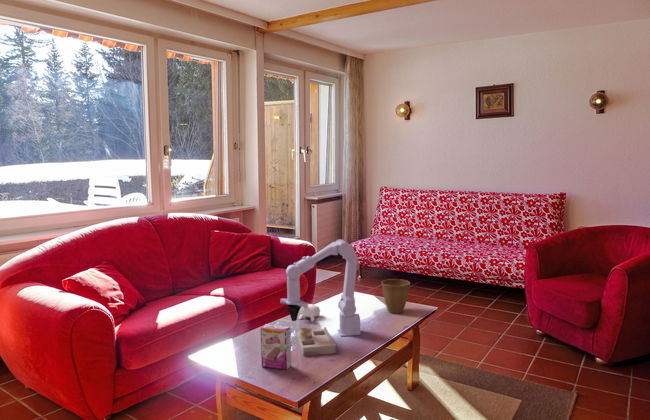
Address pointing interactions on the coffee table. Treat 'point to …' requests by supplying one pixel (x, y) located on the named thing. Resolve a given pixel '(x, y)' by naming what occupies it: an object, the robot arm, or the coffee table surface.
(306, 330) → the beige rounded knob
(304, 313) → the white animal figurine
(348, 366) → the coffee table surface
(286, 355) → the candy bar box
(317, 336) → the trap board
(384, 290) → the plant pot
